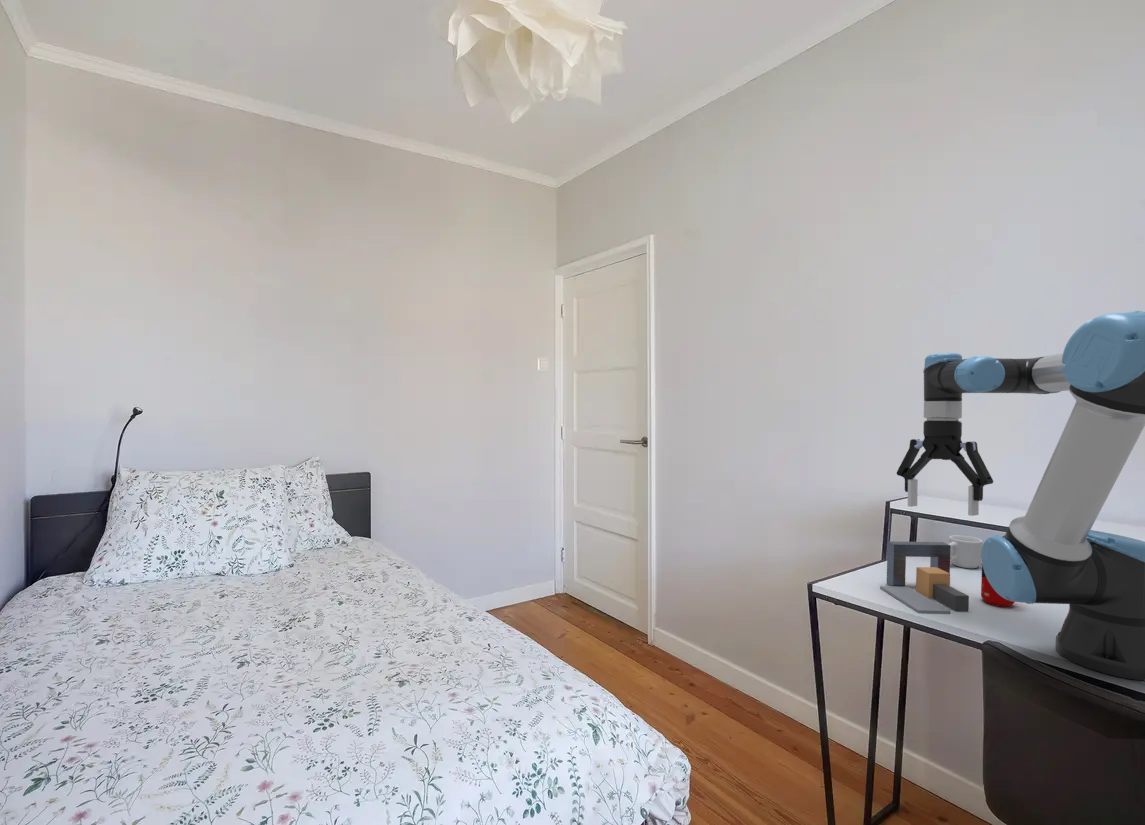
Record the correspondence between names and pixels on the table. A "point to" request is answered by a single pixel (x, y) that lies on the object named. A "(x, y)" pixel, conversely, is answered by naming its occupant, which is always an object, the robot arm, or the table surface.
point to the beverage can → (992, 594)
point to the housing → (914, 549)
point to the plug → (940, 588)
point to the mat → (914, 599)
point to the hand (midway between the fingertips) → (941, 510)
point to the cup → (965, 551)
